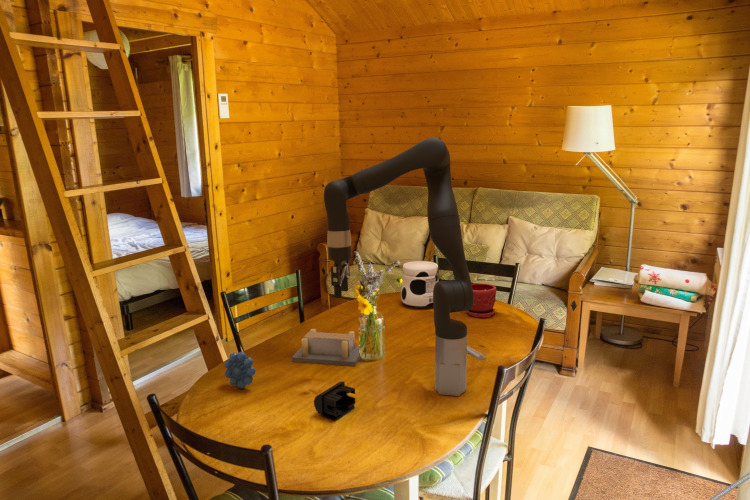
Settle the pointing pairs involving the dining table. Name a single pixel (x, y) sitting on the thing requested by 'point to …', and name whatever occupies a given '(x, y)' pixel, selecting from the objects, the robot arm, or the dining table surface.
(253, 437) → the dining table surface
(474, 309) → the plant pot
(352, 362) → the peg rack
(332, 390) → the end cap
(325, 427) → the dining table surface
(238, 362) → the grapes
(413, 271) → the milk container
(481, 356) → the adjustable wrench
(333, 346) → the steel bar
